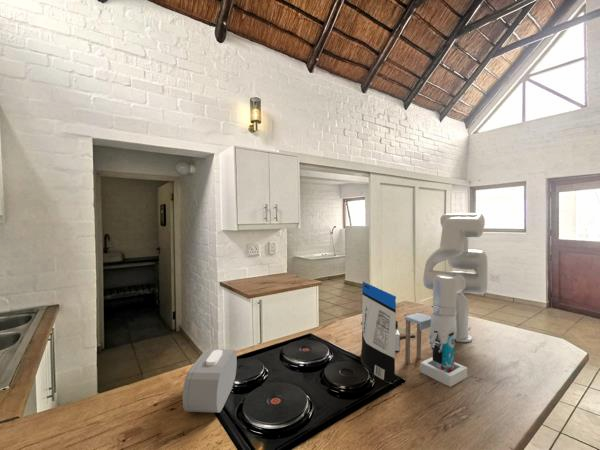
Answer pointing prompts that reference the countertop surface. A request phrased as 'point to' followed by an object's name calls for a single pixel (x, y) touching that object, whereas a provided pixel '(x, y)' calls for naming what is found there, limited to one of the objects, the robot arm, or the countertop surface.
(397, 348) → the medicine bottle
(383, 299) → the protein powder
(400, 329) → the dish towel
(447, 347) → the beverage can
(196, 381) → the alarm clock
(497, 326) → the countertop surface
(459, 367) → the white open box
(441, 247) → the robot arm
